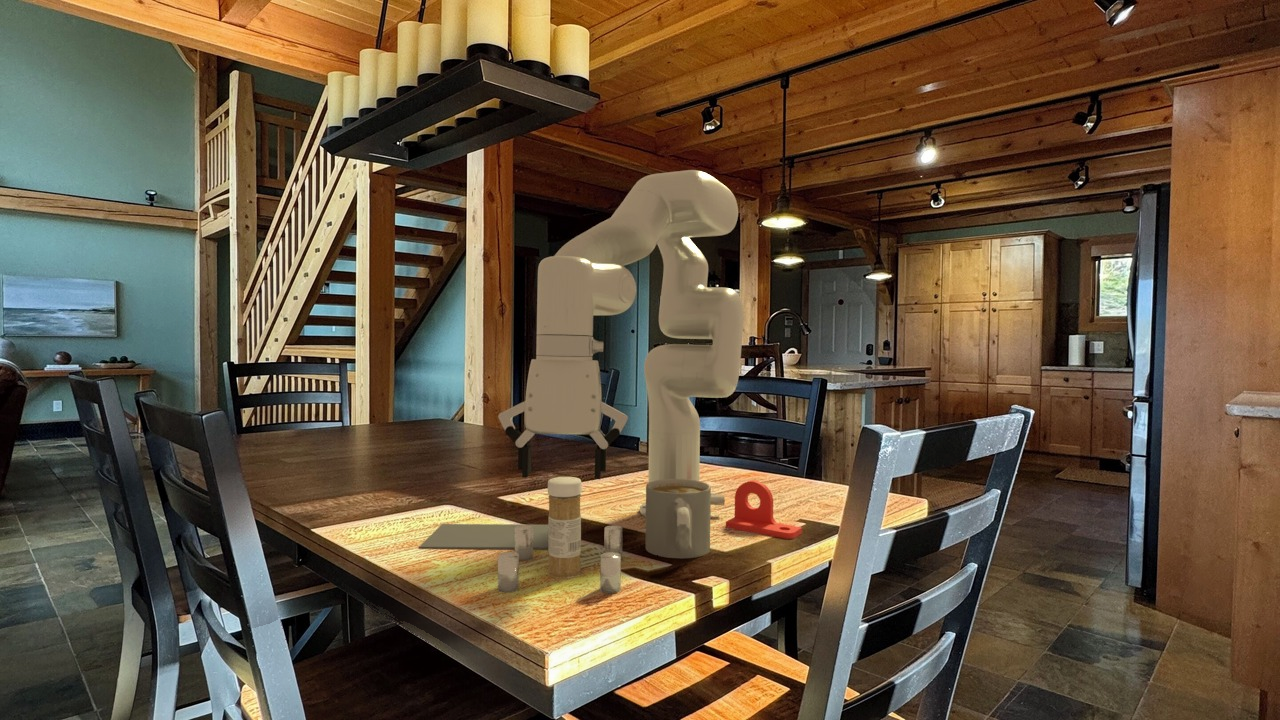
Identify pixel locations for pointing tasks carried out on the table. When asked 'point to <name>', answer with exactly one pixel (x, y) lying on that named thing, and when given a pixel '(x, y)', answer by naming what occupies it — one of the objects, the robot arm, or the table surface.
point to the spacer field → (524, 552)
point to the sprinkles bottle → (564, 527)
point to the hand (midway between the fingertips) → (562, 476)
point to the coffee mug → (678, 518)
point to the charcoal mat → (482, 537)
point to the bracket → (759, 513)
